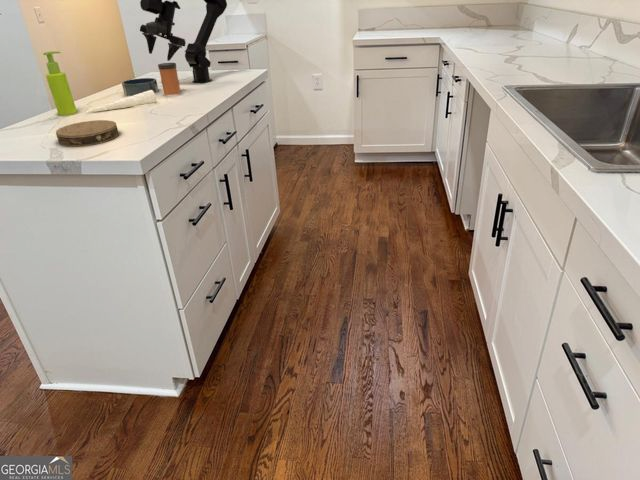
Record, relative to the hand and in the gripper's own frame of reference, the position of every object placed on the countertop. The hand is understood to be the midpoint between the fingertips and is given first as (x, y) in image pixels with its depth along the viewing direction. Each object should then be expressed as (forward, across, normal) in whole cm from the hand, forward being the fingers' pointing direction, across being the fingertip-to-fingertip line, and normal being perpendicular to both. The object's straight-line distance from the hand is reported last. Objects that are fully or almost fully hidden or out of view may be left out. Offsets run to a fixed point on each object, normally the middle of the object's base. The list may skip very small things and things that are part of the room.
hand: (159, 57), depth 186 cm
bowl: (+15, +2, -10) cm, 18 cm away
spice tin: (+11, +16, -9) cm, 21 cm away
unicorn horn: (+17, +14, -31) cm, 38 cm away
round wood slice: (+20, +31, -64) cm, 74 cm away
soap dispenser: (+24, -1, -41) cm, 48 cm away
